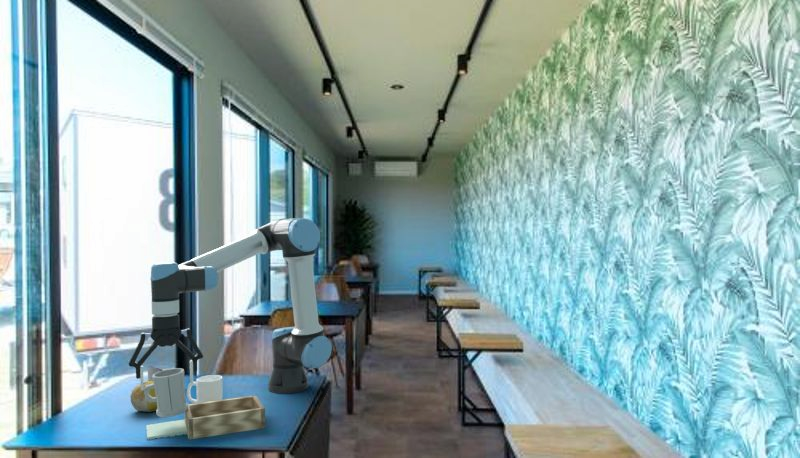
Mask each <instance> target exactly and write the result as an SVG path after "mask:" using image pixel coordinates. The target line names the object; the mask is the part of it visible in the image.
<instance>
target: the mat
mask: <svg viewBox="0 0 800 458" xmlns="http://www.w3.org/2000/svg"><path fill="white" fill-rule="evenodd" d="M145 428H146V430H147V431H146V441H149V439H150V440H156V439H155V438H157V439H161V438H160V437H164V438H167V437H166V436H170V437H175V435H177V436H182V435H183V434H184V435H187V429H186V424H185V418H184V419H179V420H178V419H177V420H172V421H165V422H159V423H158V422H157V423H151V424H146V427H145Z"/></svg>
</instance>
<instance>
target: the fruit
mask: <svg viewBox="0 0 800 458" xmlns="http://www.w3.org/2000/svg"><path fill="white" fill-rule="evenodd" d="M143 384H144V388H145V386H147V385H150V384H153V381H148V380H146V381H143ZM148 393H149V395H150V396H151V397H156V394H155V388H153V389H150V390H149V392H148ZM130 403H131V405H132V408H134V410H136V411H138V412H147V413H152V412H155V411H156V410H157V409H158V408H157V401H156V402H149V401H147V400H146V399H145V394H144V390H141V383H139V384H138V385H136V386H135V387H134V388H133V389H132V390H131V393H130Z"/></svg>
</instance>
